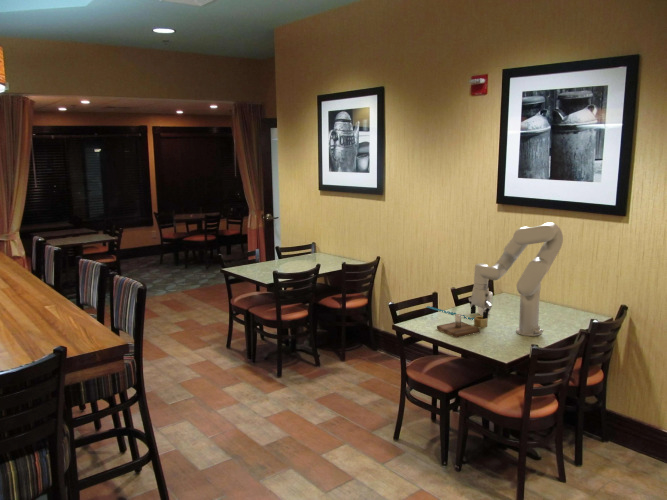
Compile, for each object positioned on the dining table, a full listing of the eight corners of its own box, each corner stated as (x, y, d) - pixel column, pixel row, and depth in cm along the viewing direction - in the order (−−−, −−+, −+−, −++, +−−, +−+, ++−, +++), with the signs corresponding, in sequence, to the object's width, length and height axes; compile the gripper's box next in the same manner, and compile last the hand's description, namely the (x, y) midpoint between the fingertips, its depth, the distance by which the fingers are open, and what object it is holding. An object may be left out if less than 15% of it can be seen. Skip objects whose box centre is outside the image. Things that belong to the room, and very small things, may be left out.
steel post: (462, 327, 290) (462, 315, 289) (457, 328, 288) (457, 316, 287) (458, 325, 293) (458, 313, 291) (453, 326, 291) (453, 314, 290)
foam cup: (492, 316, 314) (493, 294, 312) (476, 316, 316) (476, 294, 314) (491, 311, 323) (491, 290, 321) (475, 311, 325) (475, 290, 323)
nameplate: (471, 321, 307) (476, 319, 310) (471, 320, 307) (476, 318, 310) (424, 308, 336) (429, 306, 339) (424, 307, 336) (429, 305, 339)
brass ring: (490, 326, 296) (490, 318, 296) (480, 328, 293) (480, 320, 293) (481, 323, 303) (481, 315, 302) (471, 325, 300) (471, 317, 299)
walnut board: (479, 332, 287) (479, 328, 287) (456, 337, 280) (456, 334, 280) (459, 324, 301) (459, 321, 301) (437, 329, 294) (437, 325, 294)
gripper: (497, 289, 288) (495, 319, 292) (475, 281, 303) (473, 310, 307) (486, 290, 285) (484, 321, 288) (464, 283, 300) (463, 312, 303)
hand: (479, 316), depth 298 cm, fingers open, 9 cm apart
